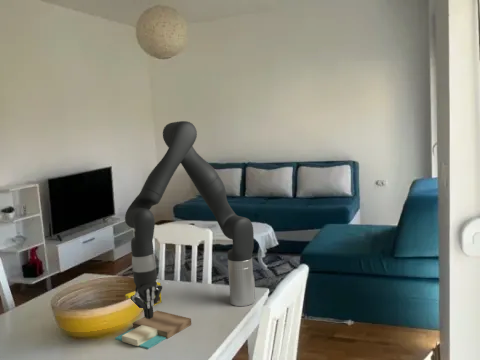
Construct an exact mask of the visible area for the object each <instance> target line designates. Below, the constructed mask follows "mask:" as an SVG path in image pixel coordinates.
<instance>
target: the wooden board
mask: <svg viewBox="0 0 480 360" xmlns="http://www.w3.org/2000/svg"><path fill="white" fill-rule="evenodd" d="M141 325H144V326H148V327H152V328H155V329H157V332H158V335H159V336H163V337H166V339H167V340H168V339H170V338H171V337H172V336H175V335H177V334H178V333H179V332H180V333H181V331H183V330H185V329H186V328H188V327H190V326H192V318H190V317H186V316H182V315H178V314H175V313H174V314H173V313H169V312H165V311H160V310H155V311H153V317H152V318H151V319H147V318H145V316H143V317H142V318H140V319H138V320H136V321H133V322H132V329H133V328H134V329H135V328H137V327H139V326H141Z"/></svg>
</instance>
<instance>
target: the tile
mask: <svg viewBox="0 0 480 360" xmlns="http://www.w3.org/2000/svg"><path fill="white" fill-rule="evenodd" d="M132 329H133V328H132ZM156 335H158V332H157V329H155V328H152V327H148V326H144V325H141V326H139V327H137V328H135V329H133V330H132V331H130V332H128V333H126V334H124V335H122V341H121V342H122V343H126V344H129V345H133V346H135V347H140V346H139V345H141V344H143V343H144V342H146V341H148V340H150V339H151V338H153V337H155V336H156Z"/></svg>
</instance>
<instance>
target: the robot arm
mask: <svg viewBox="0 0 480 360" xmlns="http://www.w3.org/2000/svg"><path fill="white" fill-rule="evenodd" d="M197 133H198V131H197V129H196V127H195V125H194V123H192V122H190V121H187V120H181V121H174V122H169V123H168V124H166V125H165V126H164V128H163V130H162V138H163V141H164V143H165V145H166V146H167V151H166V153H165V154H164V155H163V157H162V158H161V160H160V161H159V162H158V163H157V164H156V165H155V166H154V168H153V169H152V170H151V172H150V173H149V174H148V176H147V178H146V180H145V182H144V184H143V186H142V187H141V190H140V192H139V194H137V196H136V197H135V198H134V199H133V201H131V204H130V205H129V206H128V208H127V209H126V212H125V216H124V222H125V223H126V225H127V226H128V227H130V228H132V229H134V230H135V231H134V233H135V234H134V236H133V238H131V241H130V249H131V266H132V277H133V283H134V284H135V288H134V291H135V292H136V293H135V294H134V296H131V297H130V299H131V300H132V301H133V302H134V303H135V304H136V305H137V306H138V307H139V308H143V309H144V310H143V313H144V314H143V317H145V318H147V319H151V318H152V317H153V312H154V306H155V305H154V303H157V301H158V298H159V295H160V293H161V294H162V290H163V285H161V284H160V285H161V286H160V285H157V282H158V275H157V273H158V272H157V264H156V257H155V250H154V242H153V239H154V235H155V227H156V225H155V223H156V222H155V217H154V214H153V212H152V211H151V209H152V207H154V206H156V205H158V204H159V203H160V201H161V199H162V197H163V196H164V194H165V191H166V190H167V188H168V185H169V183H170V181H171V179H172V177H173V176H174V174H175V173H176V171H177V169H178V167H179V166H180V165H181V166H182V167H183V169H184V171H185V172H186V174H187V175H188V177H189V178H190V180H191V182H192V183H193V185H194V186H195V188H196V190H197V192H198V193H199V195H200V196H201V197H202V199H203V200H204V202H205V203H206V205H207V206H208V209H209V210H210V211H211V212H212V214H213V216H214V217H215V219H216V222H217V224H218V226H219V227H220V230H221V232H222V233H223V235H224V236H225V237H226V238H227V239H229V240H232V248H231V249H228V251H227V254H226V256H227V268H228V269H227V270H228V283H229V298H230V304H231V305H233V306H236V307H246V306H250V305H252V304H254V303H255V301H256V286H255V275H254V269H253V251H254V248H255V247H254V241H255V240H254V238H255V237H254V225H253V222H252V221H251V220H250V219H249V218H248V217H244V216H239V215H237V214H236V213H235V211H234V210H233V208H232V207H231V206H230V204H229V202H228V198H227V192H226V187H225V184H224V182H223V180H222V179H221V177H220V175H219V173H218V172H217V171H216V169H215V168H214V167H213V166H212V165H211V164H209V162H208V161H206V159H204V158H203V157H202V156H201V155H200V154H199V153H198V152H197V150H196V149H195V148H194V144H195V142H196V140H197V136H198V134H197ZM156 280H157V282H156ZM145 302H146V303H145Z"/></svg>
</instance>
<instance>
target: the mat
mask: <svg viewBox="0 0 480 360" xmlns="http://www.w3.org/2000/svg"><path fill="white" fill-rule="evenodd" d="M133 329H134V328H133V327H132V328H131V329H130V330H127V331H125V332H124V333H122V334H120V335H117V336H116V337H115V338H114V339H115V340H116V341H119V342H120V341H121V342H122V335H124V334H126V333H128V332H130V331H132V330H133ZM166 339H167V338H166V337H163V336H159V335H156V336H155V337H153V338H151V339H150V340H148V341H146V342H144V343H143V344H141V345H139V346H138V347H141V348H143V349H146V350H149V349H151V348H152V347H154V346H156V345H158V344H159V343H160V342H163V341H165V340H166Z"/></svg>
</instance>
